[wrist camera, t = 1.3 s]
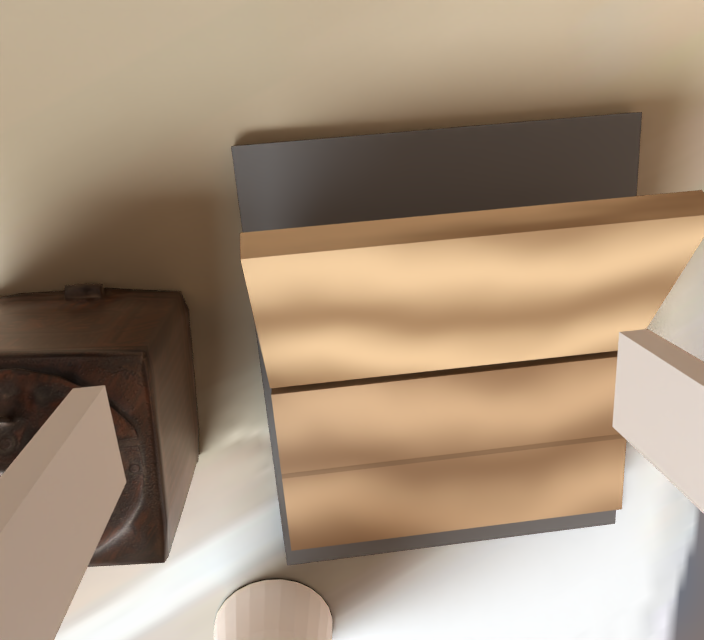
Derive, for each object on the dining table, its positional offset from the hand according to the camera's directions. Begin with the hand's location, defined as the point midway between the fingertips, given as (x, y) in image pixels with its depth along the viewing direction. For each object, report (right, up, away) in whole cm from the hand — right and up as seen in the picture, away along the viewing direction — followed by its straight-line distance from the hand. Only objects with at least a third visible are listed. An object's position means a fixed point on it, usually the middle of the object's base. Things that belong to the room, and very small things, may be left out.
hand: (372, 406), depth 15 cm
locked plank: (+5, -5, +21) cm, 22 cm away
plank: (+5, +4, +14) cm, 16 cm away
